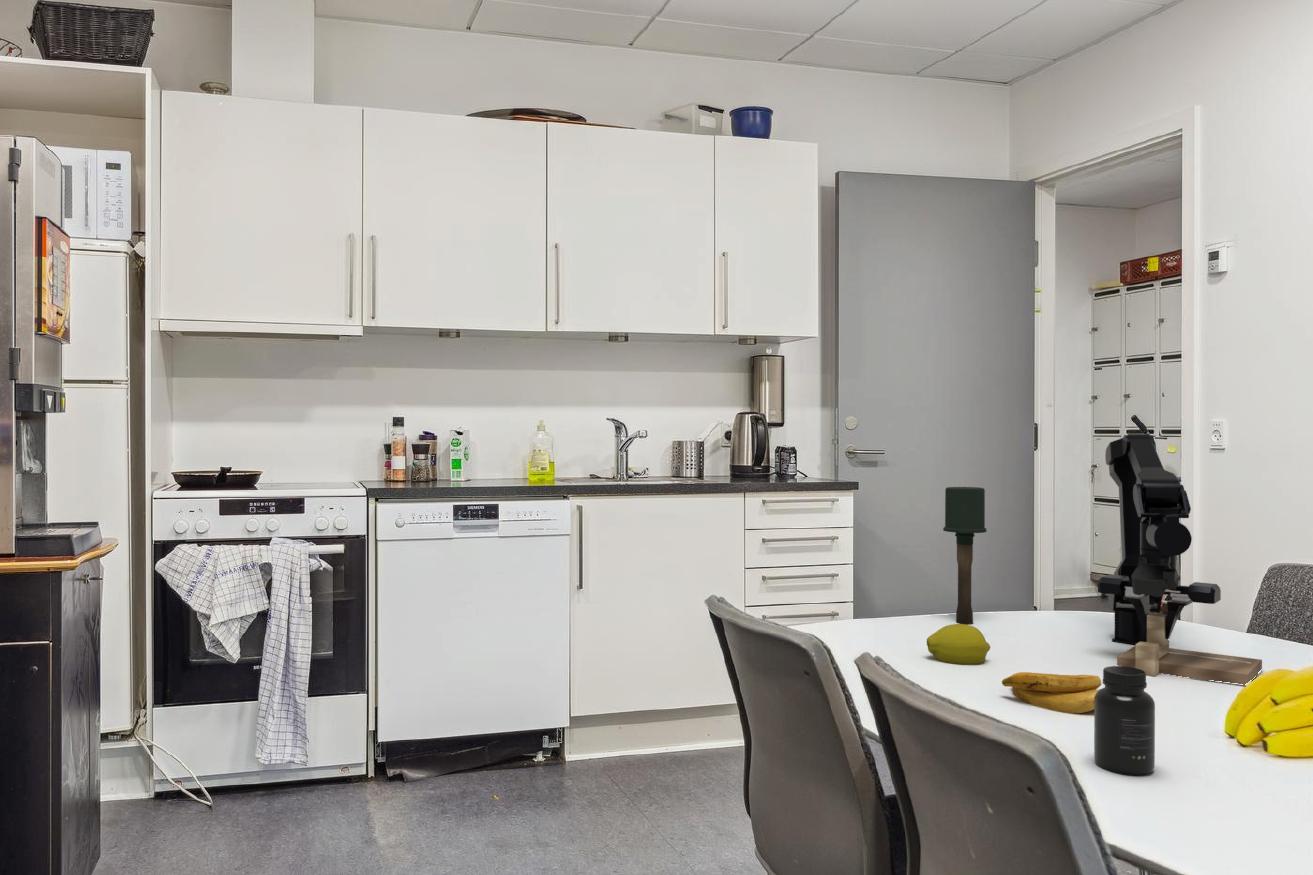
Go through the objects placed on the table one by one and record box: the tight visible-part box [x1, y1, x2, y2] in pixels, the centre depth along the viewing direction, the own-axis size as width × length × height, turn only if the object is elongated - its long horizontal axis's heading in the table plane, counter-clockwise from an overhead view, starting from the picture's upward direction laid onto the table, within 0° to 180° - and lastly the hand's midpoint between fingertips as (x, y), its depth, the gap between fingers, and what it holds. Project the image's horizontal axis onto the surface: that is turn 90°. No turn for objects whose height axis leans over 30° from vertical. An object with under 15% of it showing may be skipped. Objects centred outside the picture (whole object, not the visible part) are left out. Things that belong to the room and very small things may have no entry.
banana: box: [1001, 671, 1102, 715], centre depth 153 cm, size 15×19×6 cm
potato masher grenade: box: [942, 486, 987, 626], centre depth 207 cm, size 8×9×30 cm
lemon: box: [926, 623, 991, 666], centre depth 175 cm, size 11×8×8 cm
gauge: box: [1135, 612, 1170, 677], centre depth 175 cm, size 3×13×9 cm, turn 141°
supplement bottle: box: [1093, 665, 1156, 776], centre depth 124 cm, size 7×7×12 cm
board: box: [1116, 645, 1263, 685], centre depth 175 cm, size 20×14×2 cm
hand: (1157, 637), depth 177 cm, fingers closed on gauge, 3 cm apart
